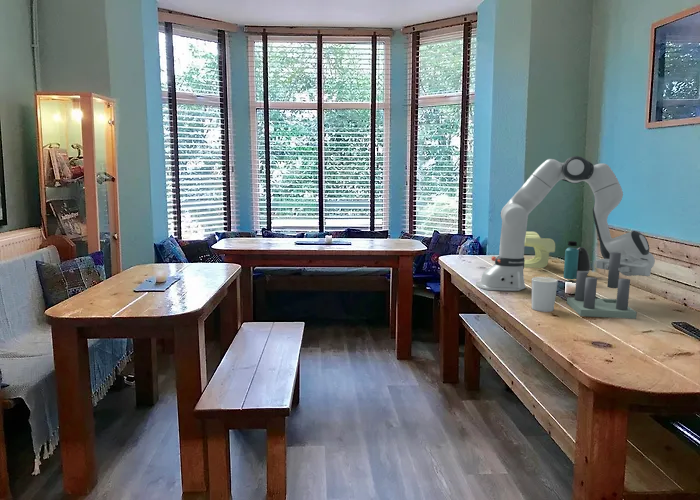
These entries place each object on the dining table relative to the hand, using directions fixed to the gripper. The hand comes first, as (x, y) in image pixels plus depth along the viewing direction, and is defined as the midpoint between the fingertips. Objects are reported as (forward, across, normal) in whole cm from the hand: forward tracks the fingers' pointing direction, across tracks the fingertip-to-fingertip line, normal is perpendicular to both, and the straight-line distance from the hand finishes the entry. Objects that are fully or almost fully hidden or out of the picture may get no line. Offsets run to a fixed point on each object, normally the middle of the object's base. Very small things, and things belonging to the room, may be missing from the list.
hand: (613, 268), depth 220 cm
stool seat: (+8, 0, +16) cm, 18 cm away
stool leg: (-1, 0, +8) cm, 8 cm away
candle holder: (+25, -15, +16) cm, 33 cm away
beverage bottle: (-35, -38, +16) cm, 54 cm away
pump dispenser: (-51, -42, +16) cm, 68 cm away
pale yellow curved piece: (-56, -74, +16) cm, 94 cm away
